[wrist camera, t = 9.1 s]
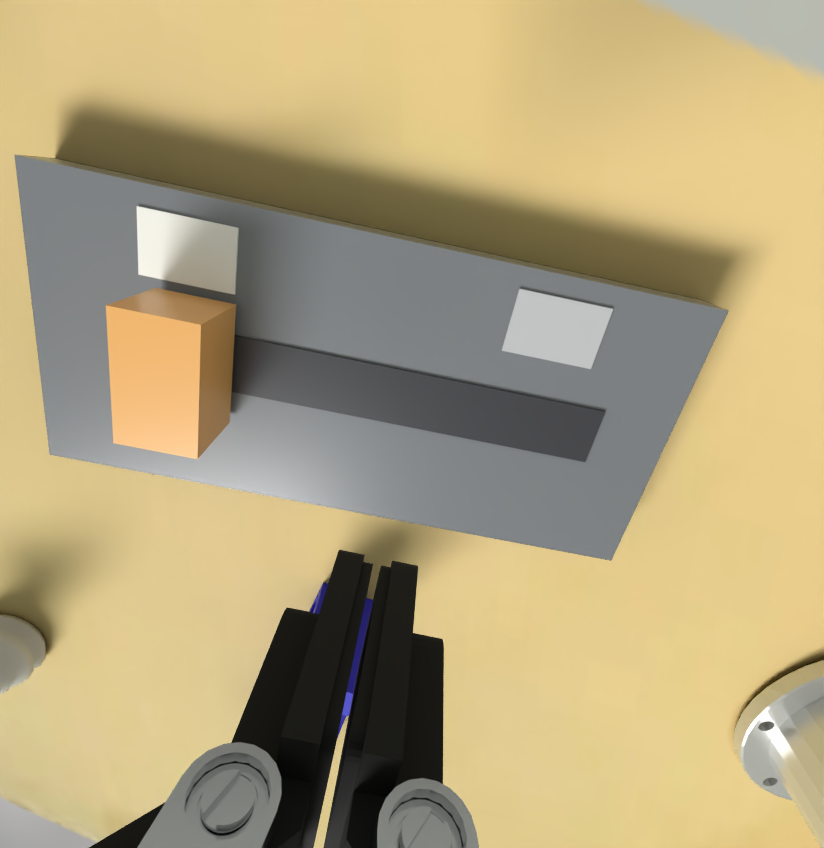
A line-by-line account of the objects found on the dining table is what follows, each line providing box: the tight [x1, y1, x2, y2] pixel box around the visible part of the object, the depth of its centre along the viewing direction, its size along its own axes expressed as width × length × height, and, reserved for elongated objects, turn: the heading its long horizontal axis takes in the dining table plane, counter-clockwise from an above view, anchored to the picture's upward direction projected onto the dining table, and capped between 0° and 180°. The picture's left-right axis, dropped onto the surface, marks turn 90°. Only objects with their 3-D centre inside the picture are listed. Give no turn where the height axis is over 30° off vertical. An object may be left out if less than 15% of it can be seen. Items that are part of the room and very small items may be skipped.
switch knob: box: [106, 288, 236, 459], centre depth 18 cm, size 3×5×3 cm, turn 169°
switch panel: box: [15, 155, 728, 560], centre depth 21 cm, size 26×12×2 cm, turn 79°
